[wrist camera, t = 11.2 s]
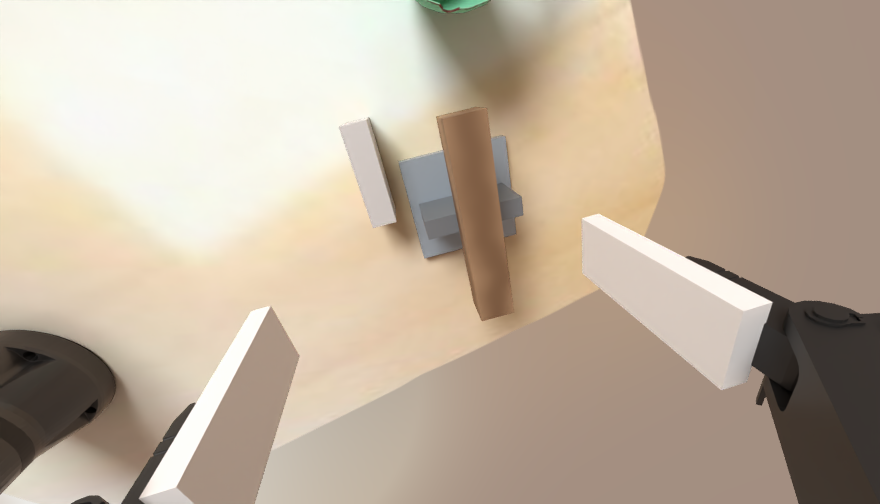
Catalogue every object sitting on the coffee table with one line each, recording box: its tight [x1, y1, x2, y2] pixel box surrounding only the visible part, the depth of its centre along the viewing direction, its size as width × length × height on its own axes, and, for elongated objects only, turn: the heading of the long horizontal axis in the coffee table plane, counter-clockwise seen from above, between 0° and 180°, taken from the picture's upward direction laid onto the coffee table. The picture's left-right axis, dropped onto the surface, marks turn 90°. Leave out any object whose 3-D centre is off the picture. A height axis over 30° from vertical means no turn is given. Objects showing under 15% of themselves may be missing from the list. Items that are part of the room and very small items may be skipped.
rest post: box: [339, 117, 397, 228], centre depth 33 cm, size 2×10×5 cm, turn 13°
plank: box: [436, 107, 514, 321], centre depth 30 cm, size 4×20×4 cm, turn 12°
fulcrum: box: [398, 135, 523, 258], centre depth 35 cm, size 12×12×7 cm
